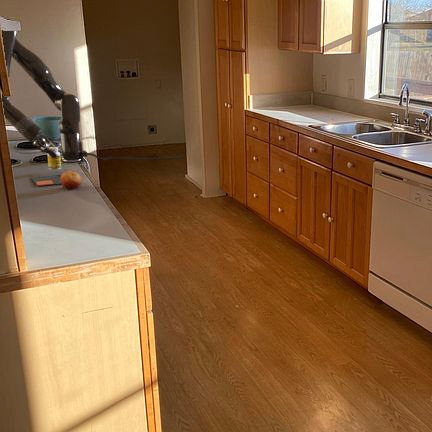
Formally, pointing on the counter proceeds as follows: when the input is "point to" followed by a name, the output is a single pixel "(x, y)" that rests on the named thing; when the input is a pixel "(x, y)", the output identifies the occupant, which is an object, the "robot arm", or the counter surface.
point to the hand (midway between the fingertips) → (57, 155)
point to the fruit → (70, 180)
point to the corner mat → (47, 180)
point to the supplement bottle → (54, 160)
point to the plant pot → (49, 126)
